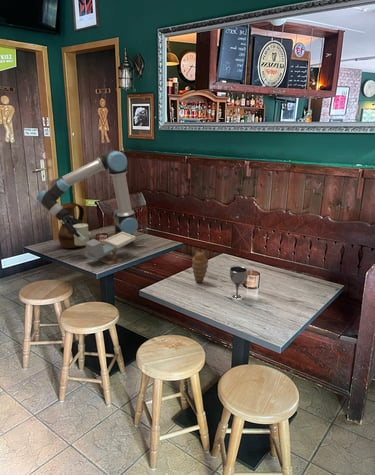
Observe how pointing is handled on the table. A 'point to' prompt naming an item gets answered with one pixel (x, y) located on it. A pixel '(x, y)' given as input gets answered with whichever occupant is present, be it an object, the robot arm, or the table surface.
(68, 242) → the ceramic pitcher
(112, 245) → the balance beam
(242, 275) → the wine glass
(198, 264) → the brown tapered upright piece
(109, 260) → the pivot stand
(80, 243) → the can
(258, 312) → the table surface
